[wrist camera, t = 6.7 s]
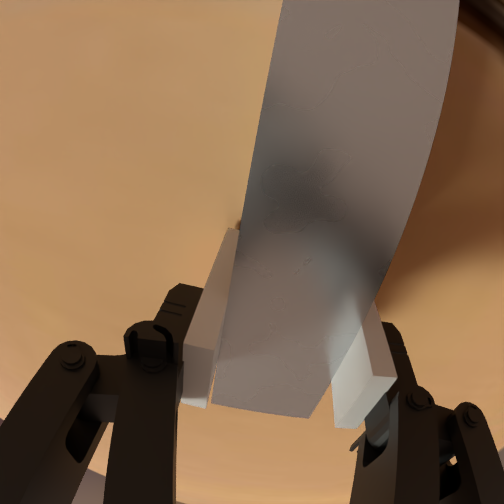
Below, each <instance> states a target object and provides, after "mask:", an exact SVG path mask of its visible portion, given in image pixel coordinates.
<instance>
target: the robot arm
mask: <svg viewBox="0 0 504 504" xmlns="http://www.w3.org/2000/svg"><path fill="white" fill-rule="evenodd" d="M238 236H239V230H237V229H232V228H228V229H227V232H226V234H225V237H224V239H223V242H222V244H221V247H220V249H219V252H218V254H217V257H216V259H215V262H214V264H213V267H212V269H211V272H210V275H209V277H208V280H207V282H206V285H205V287H204V289H203V288H199V287H195V286H190V285H186V284H181V283H179V284H178V285H176V286H175V287H174V288H172V289H171V290H169V292H168V294H167V296H166V298H165V300H164V303H163V304H162V306H161V307H160V310H159V311H158V313H157V315H156V317H155V319H154V321H142V322H138V323H135V324H134V325H132V326H131V327H130V328H128V329H127V331H126V333H125V334H124V344H125V351H126V354H124V355H116V356H112V355H96V353H95V351H94V350H93V348H92V347H91V346H90V345H88V344H86V343H85V342H81V341H76V340H75V341H67V342H64V343H62V344H60V345H58V346H57V347H56V348H55V349H54V350H53V351H52V352H51V354H50V355H49V356H48V358H47V359H46V360H45V362H44V363H43V365H42V366H41V367H40V369H39V370H38V371H37V373H36V374H35V376H34V377H33V378H32V380H31V381H30V383H29V384H28V386H27V387H26V388H25V390H24V391H23V393H22V394H21V396H20V397H19V399H18V400H17V402H16V403H15V405H14V406H13V408H12V409H11V411H10V412H9V414H8V415H7V417H6V418H5V420H4V422H3V423H2V425H1V426H0V504H71V503H72V501H73V499H74V496H75V494H76V492H77V490H78V487H79V485H80V483H81V481H82V478H83V476H84V474H85V472H86V470H87V467H88V465H89V463H90V461H91V459H92V457H93V454H94V452H95V450H96V448H97V446H98V444H99V442H100V440H101V438H102V435H103V433H104V431H105V429H106V427H107V425H108V423H109V422H114V425H113V431H112V437H111V444H110V451H109V458H108V465H107V473H106V481H105V491H104V501H103V504H176V448H177V420H178V406H179V403H180V399H181V403H184V404H188V405H193V406H197V407H201V408H205V409H206V406H207V402H208V398H209V394H210V390H211V385H212V381H213V377H214V373H215V369H216V365H217V361H218V356H219V349H220V343H221V337H222V331H223V325H224V319H225V313H226V308H227V302H228V294H229V288H230V282H231V276H232V270H233V265H234V259H235V253H236V247H237V241H238ZM331 383H332V394H333V407H334V421H335V428H352V429H357V428H358V427H359V425H360V424H361V423H362V422H363V421H364V420H365V426H366V431H365V432H364V433H363V434H362V435H361V436H360V437H359V438H358V439H357V440H356V441H355V442H354V443H353V444H352V445H351V448H350V450H349V451H353V450H354V449H355V448H356V447H357V446H358V445H359V446H358V451H357V453H358V454H357V461H356V468H355V475H354V481H353V487H352V493H351V498H350V504H504V470H503V467H502V464H501V461H500V458H499V455H498V452H497V449H496V446H495V443H494V440H493V437H492V435H491V432H490V429H489V427H488V424H487V421H486V419H485V416H484V415H483V413H482V411H481V410H480V409H479V408H478V407H477V406H476V405H474V404H472V403H470V402H463V403H460V404H459V405H458V406H457V407H456V408H455V409H454V410H451V409H448V408H445V407H441V406H438V405H436V404H435V403H434V399H433V397H432V396H431V394H430V393H429V392H428V391H427V390H425V389H424V388H423V387H421V386H418V385H417V381H416V378H415V375H414V372H413V369H412V366H411V363H410V360H409V357H408V355H407V351H406V348H405V346H404V342H403V339H402V336H401V334H400V332H399V331H398V330H397V328H396V327H395V326H394V325H393V323H388V322H381V320H380V317H379V313H378V310H377V307H376V304H375V301H373V303H372V305H371V307H370V309H369V311H368V313H367V316H366V318H365V320H364V322H363V324H362V326H361V328H360V329H359V331H358V333H357V335H356V337H355V339H354V341H353V343H352V345H351V347H350V348H349V350H348V352H347V354H346V356H345V358H344V359H343V361H342V363H341V365H340V366H339V368H338V370H337V372H336V373H335V375H334V377H333V379H332V380H331ZM454 456H456V460H457V463H456V464H454V465H452V464H451V462H450V459H451V458H452V457H454Z"/></svg>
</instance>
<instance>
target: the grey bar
mask: <svg viewBox="0 0 504 504" xmlns="http://www.w3.org/2000/svg"><path fill="white" fill-rule="evenodd" d="M458 10H459V0H283V4H282V9H281V13H280V18H279V23H278V28H277V33H276V38H275V43H274V48H273V53H272V58H271V63H270V68H269V73H268V78H267V83H266V89H265V94H264V99H263V104H262V109H261V115H260V120H259V125H258V131H257V136H256V141H255V147H254V152H253V157H252V163H251V168H250V174H249V179H248V185H247V190H246V196H245V202H244V207H243V213H242V218H241V224H240V230H239V236H238V241H237V247H236V253H235V259H234V265H233V270H232V276H231V282H230V288H229V294H228V302H227V308H226V313H225V319H224V325H223V331H222V337H221V343H220V349H219V356H218V362H217V368H216V375H215V381H214V387H213V394H212V400H211V403H213V404H218V405H223V406H228V407H233V408H238V409H244V410H250V411H256V412H262V413H268V414H275V415H283V416H291V417H299V418H308V419H309V417H310V416H311V414H312V412H313V411H314V409H315V408H316V406H317V404H318V403H319V401H320V400H321V398H322V396H323V395H324V393H325V391H326V390H327V388H328V386H329V384H330V383H331V380H332V379H333V377H334V375H335V373H336V372H337V370H338V368H339V366H340V365H341V363H342V361H343V359H344V358H345V356H346V354H347V352H348V350H349V348H350V347H351V345H352V343H353V341H354V339H355V337H356V335H357V333H358V331H359V329H360V328H361V326H362V324H363V322H364V320H365V318H366V316H367V313H368V311H369V309H370V307H371V305H372V303H373V301H374V299H375V297H376V295H377V292H378V290H379V288H380V286H381V284H382V281H383V279H384V277H385V275H386V272H387V270H388V268H389V265H390V263H391V261H392V258H393V256H394V253H395V251H396V249H397V246H398V244H399V241H400V239H401V236H402V234H403V231H404V228H405V226H406V223H407V220H408V218H409V215H410V212H411V210H412V207H413V204H414V201H415V198H416V195H417V192H418V189H419V186H420V183H421V180H422V177H423V174H424V171H425V168H426V165H427V161H428V158H429V155H430V151H431V148H432V144H433V141H434V137H435V133H436V130H437V126H438V122H439V118H440V114H441V110H442V105H443V101H444V97H445V92H446V87H447V82H448V77H449V72H450V67H451V61H452V55H453V49H454V43H455V36H456V28H457V20H458Z"/></svg>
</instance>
